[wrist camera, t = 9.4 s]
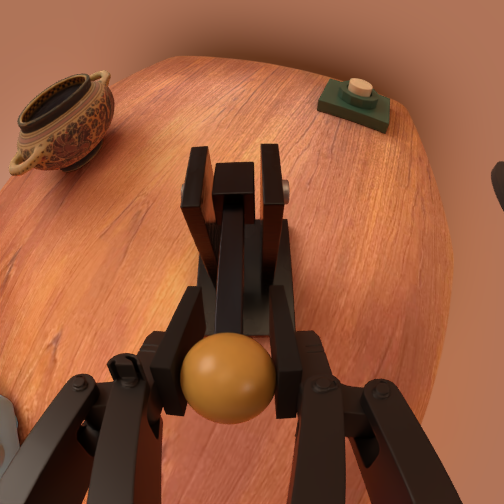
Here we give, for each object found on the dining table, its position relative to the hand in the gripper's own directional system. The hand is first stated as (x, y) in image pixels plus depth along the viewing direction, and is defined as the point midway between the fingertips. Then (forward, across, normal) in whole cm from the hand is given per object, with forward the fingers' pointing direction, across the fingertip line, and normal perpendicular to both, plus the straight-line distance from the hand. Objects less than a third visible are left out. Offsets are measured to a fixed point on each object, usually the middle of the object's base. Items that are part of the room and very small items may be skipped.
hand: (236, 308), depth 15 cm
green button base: (+34, +19, +19) cm, 43 cm away
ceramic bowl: (+28, -28, +12) cm, 42 cm away
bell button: (+31, +19, +21) cm, 42 cm away
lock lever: (-1, 0, +1) cm, 1 cm away
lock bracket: (+12, 0, -3) cm, 12 cm away
